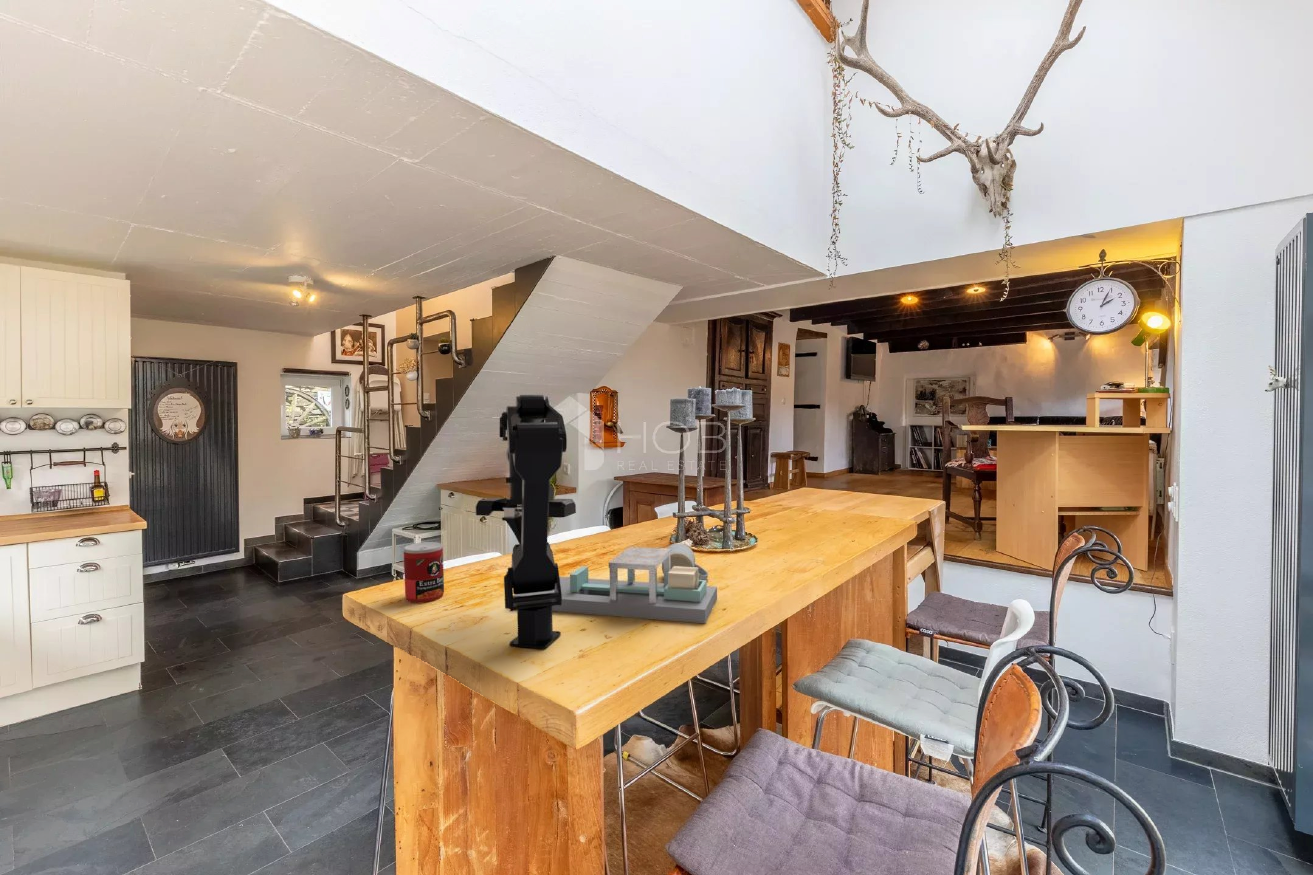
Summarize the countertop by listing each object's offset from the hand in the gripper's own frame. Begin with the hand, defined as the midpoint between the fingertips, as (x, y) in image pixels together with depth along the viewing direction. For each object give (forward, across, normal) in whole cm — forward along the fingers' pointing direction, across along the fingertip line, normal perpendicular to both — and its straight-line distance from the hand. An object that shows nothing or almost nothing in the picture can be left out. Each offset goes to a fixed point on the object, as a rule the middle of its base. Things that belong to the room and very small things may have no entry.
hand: (526, 551), depth 107 cm
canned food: (+12, +26, -4) cm, 29 cm away
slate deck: (+12, -15, -9) cm, 21 cm away
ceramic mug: (+12, -24, -28) cm, 39 cm away
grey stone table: (+9, -20, -9) cm, 24 cm away
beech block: (+10, -29, -9) cm, 32 cm away
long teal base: (+9, -19, -9) cm, 23 cm away
